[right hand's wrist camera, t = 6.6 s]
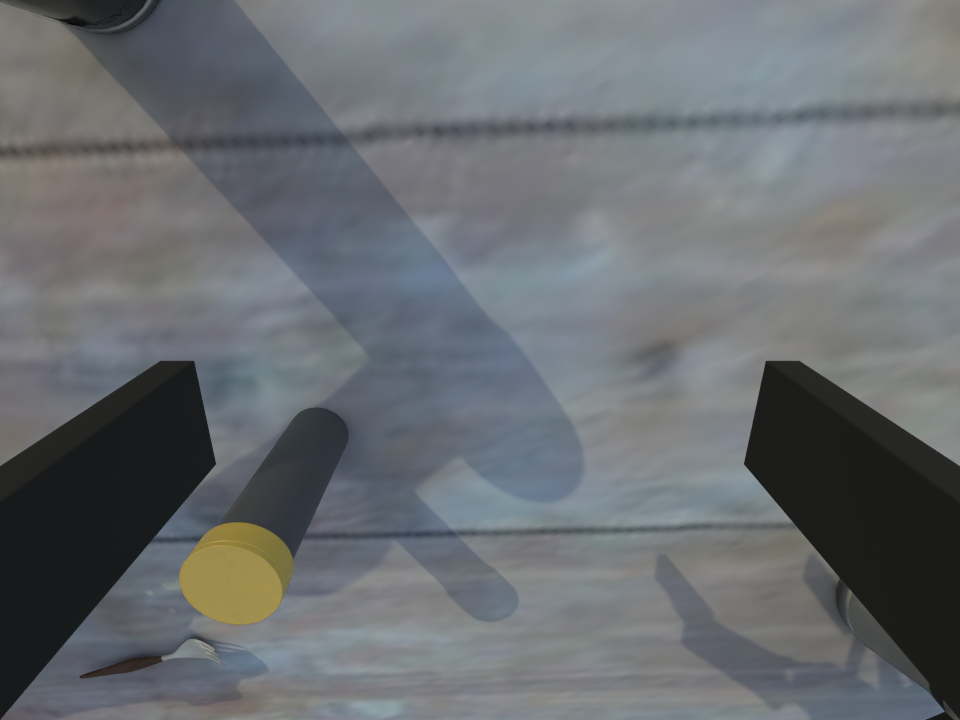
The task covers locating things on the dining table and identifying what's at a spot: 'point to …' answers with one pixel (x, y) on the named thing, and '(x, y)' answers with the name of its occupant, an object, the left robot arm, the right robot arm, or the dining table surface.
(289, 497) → the dark grey cylinder
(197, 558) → the lid
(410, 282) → the dining table surface
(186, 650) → the fork
